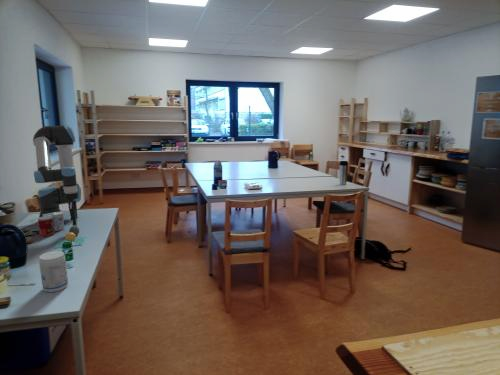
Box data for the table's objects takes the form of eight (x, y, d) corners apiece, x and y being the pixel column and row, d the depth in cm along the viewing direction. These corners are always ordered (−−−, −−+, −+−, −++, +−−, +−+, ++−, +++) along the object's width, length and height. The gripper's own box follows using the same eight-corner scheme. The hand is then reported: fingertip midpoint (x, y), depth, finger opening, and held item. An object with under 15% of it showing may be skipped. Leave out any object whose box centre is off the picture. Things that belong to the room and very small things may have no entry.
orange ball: (64, 231, 204) (63, 239, 201) (74, 229, 206) (74, 238, 203) (66, 235, 209) (66, 244, 205) (76, 234, 210) (76, 243, 207)
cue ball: (68, 226, 213) (68, 236, 213) (78, 226, 215) (79, 235, 215) (69, 226, 219) (70, 235, 218) (79, 225, 220) (80, 234, 220)
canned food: (48, 237, 214) (46, 219, 212) (37, 236, 216) (34, 219, 214) (58, 233, 222) (55, 216, 219) (46, 232, 223) (44, 215, 221)
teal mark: (59, 240, 209) (59, 239, 209) (85, 237, 213) (85, 236, 213) (54, 248, 196) (54, 248, 196) (82, 245, 200) (81, 244, 200)
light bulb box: (46, 233, 222) (44, 216, 220) (44, 230, 227) (41, 214, 225) (65, 229, 229) (63, 213, 227) (62, 227, 234) (60, 211, 232)
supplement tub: (39, 288, 151) (34, 255, 148) (62, 280, 158) (58, 248, 155) (48, 295, 145) (43, 261, 142) (72, 286, 152) (68, 254, 149)
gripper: (66, 190, 222) (70, 226, 227) (62, 195, 210) (67, 233, 215) (79, 189, 224) (83, 225, 229) (76, 194, 212) (80, 231, 217)
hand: (75, 229), depth 222 cm, fingers closed
